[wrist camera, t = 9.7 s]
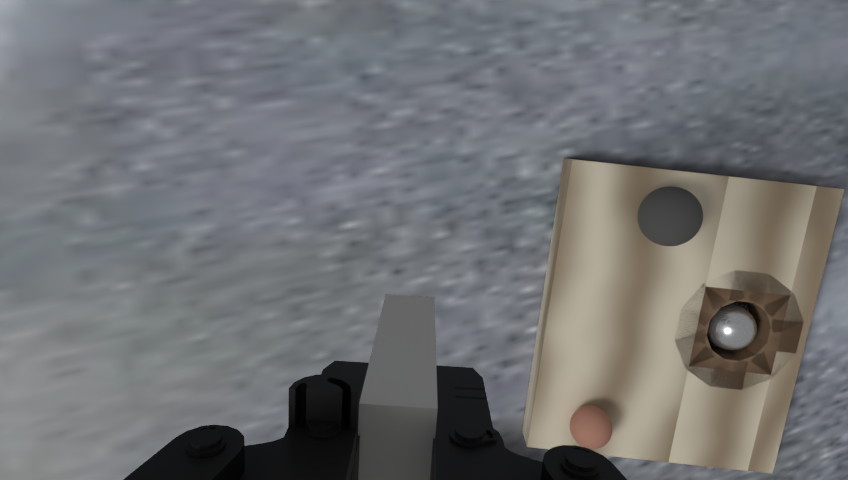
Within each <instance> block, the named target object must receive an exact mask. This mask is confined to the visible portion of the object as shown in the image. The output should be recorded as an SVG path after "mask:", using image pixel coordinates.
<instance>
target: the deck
mask: <svg viewBox="0 0 848 480" xmlns="http://www.w3.org/2000/svg"><path fill="white" fill-rule="evenodd" d="M668 186H673V187H680V188H683V189H685V190H687V191H689V192H691V193H692V194H693V195H694V196H695V197H696V198H697V199H698V201H699V202H700V204H701V206H702V210H703V222H702V225H701V228H700V230H699V231H698V233H697V234H696V235H695V236H694V237H693V238H692V239H691V240H689V241H688V242H686V243H684V244H681V245H678V246H662V245H659V244H656V243H654V242H652V241H650V240H649V239H648V238H647V237H646V236H645V235H644V234H643V233H642V231H641V230H640V227H639V224H638V218H637V215H638V209H639V206H640V204H641V202H642V201H643V199H644V198H645V197H646V196H647V195H648V194H650V193H651V192H652V191H654V190H656V189H659V188H662V187H668ZM843 193H844V189H839V188H831V187H823V186H815V185H806V184H796V183H787V182H778V181H769V180H760V179H751V178H742V177H732V176H723V175H714V174H705V173H696V172H687V171H678V170H669V169H659V168H650V167H641V166H632V165H623V164H614V163H605V162H595V161H586V160H577V159H568V158H564V161H563V167H562V174H561V180H560V187H559V193H558V200H557V206H556V213H555V219H554V226H553V232H552V239H551V245H550V252H549V258H548V265H547V271H546V278H545V284H544V291H543V297H542V303H541V310H540V316H539V323H538V329H537V336H536V342H535V349H534V355H533V362H532V368H531V375H530V381H529V388H528V394H527V401H526V407H525V414H524V420H523V427H522V432H523V435H524V438H525V441H526V445H527V447H531V448H541V449H551V448H553V447H557V446H561V445H576V446H581V445H579V444H578V443H577V442H576V441H575V440H574V438H573V436H572V434H571V431H570V419H571V417H572V415H573V413H574V412H575V411H576V410H577V409H579V408H581V407H584V406H595V407H597V408H600V409H601V410H603V411H604V412H605V413H606V414H607V415H608V417H609V418H610V420H611V423H612V429H613V430H612V436H611V439H610V440H609V442H608V443H607V444H606V445H605V446H603V447H601V448H598V449H591V450H593V451H595V452H597V453H599V454H601V455H606V456H615V457H624V458H634V459H643V460H652V461H661V462H671V463H680V464H689V465H699V466H708V467H717V468H726V469H736V470H745V471H754V472H764V473H773V470H774V466H775V462H776V458H777V454H778V450H779V446H780V442H781V438H782V434H783V430H784V426H785V422H786V418H787V414H788V410H789V406H790V403H791V399H792V395H793V391H794V387H795V383H796V379H797V375H798V371H799V367H800V363H801V359H802V355H803V351H804V347H805V343H806V339H807V335H808V331H809V327H810V323H811V320H812V316H813V312H814V308H815V304H816V300H817V296H818V292H819V288H820V284H821V280H822V276H823V272H824V268H825V264H826V260H827V256H828V252H829V248H830V244H831V240H832V236H833V233H834V229H835V225H836V221H837V217H838V213H839V209H840V205H841V201H842V197H843ZM736 301H741V302H747V304H748V307H749V310H750V313H751V315H752V316H753V318H754V319H755V322H756V326H757V332H756V336H755V338H754V340H753V341H752V342H751V343H750V344H749V345H748V346H746V347H744V348H742V349H739V350H727V349H723V348H717V347H711V346H710V344H709V341H708V338H707V332H708V327H709V322H710V320H711V318H712V317H713V316H714V315H715V314H716V313H717V312H718V310H719V309H720V308H721V307H724V306H726V305H729V304H731V303H734V302H736ZM581 447H583V446H581Z"/></svg>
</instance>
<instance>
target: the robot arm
mask: <svg viewBox="0 0 848 480" xmlns="http://www.w3.org/2000/svg"><path fill="white" fill-rule="evenodd" d="M124 480H627V479H626V478H625V477H624V476H623V475H622V474H621V473H620V471H619V470H618V469H617V468H616V467H615V466H614V465H613V464H612V463H611V462H610V461H609V460H608V459H606V458H605V457H604V456H603V455H601V454H599V453H597V452H595V451H593V450H591V449H588V448H585V447H581V446H576V445H561V446H557V447H553V448H551V449H550V450H548V451H547V452H546V453H545V455H544V459H543V462H540V461H536V460H532V459H529V458H526V457H523V456H520V455H517V454H515V453H513V452H511V451H509V450H508V449H506V448H505V447H504V443H503V439H502V438H501V436H500V434H499V432H497V431H496V430H495V429H494V428H493V426H492V421H491V416H490V412H489V407H488V402H487V397H486V392H485V387H484V382H483V378H482V377H481V376H480V375H479V374H478V373H477V372H476V371H475V370H474V369H473V368H465V367H449V366H436V335H435V300H434V297H423V296H408V295H392V294H386V296H385V300H384V304H383V308H382V312H381V316H380V320H379V324H378V328H377V332H376V336H375V340H374V345H373V349H372V353H371V357H370V361H369V363H362V362H346V361H334V362H333V363H332V364H330V365H329V366H327V367H326V368H325V369H323V371H322V374H321V375H314V376H309V377H304V378H302V379H300V380H298V381H296V382H294V383H293V385H292V386H291V387H290V388H289V427H288V429H287V432H286V434H285V436H284V438H281V439H279V440H276V441H273V442H268V443H263V444H256V445H248V446H244V436H243V435H242V434H241V433H240V432H239V431H238V430H237V429H234V428H231V427H229V426H220V425H209V426H201V427H198V428H195V429H192V430H189V431H186V432H185V433H183V434H181V435H179V436H178V437H176V438H175V439H173V440H172V441H171V442H170V443H168V444H167V445H166V446H165V447H163V448H162V449H161V450H160V451H158V452H157V453H156V454H155V455H153V456H152V457H151V458H150V459H148V460H147V461H146V462H145V463H144V464H142V465H141V466H140V467H139V468H137V469H136V470H135V471H134V472H132V473H131V474H130V475H129V476H127V477H126V478H125V479H124Z"/></svg>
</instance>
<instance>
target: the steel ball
mask: <svg viewBox="0 0 848 480" xmlns="http://www.w3.org/2000/svg"><path fill="white" fill-rule="evenodd" d="M756 332H757V326H756V322H755V319H754V318H753V316H752V315H751V313H749V312H748V311H747V310H746V309H744V308H743V307H741V306H738V305H734V304H729V305H726V306H724V307H721V308H720V309H719V310H718V312H717V313H716V314H715V315H714V316H713V317H712V318H711V320H710V322H709V327H708V332H707V336H708V338H709V339H710V340H711V341H712V342H713V343H714V344H715V345H717V346H718V347H720V348H723V349H727V350H739V349H742V348H744V347H746V346H748V345H749V344H750V343H751V342H752V341H753V340H754V338H755V336H756Z"/></svg>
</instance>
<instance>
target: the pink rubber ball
mask: <svg viewBox="0 0 848 480" xmlns="http://www.w3.org/2000/svg"><path fill="white" fill-rule="evenodd" d="M612 430H613V429H612V423H611V420H610V418H609V417H608V415H607V414H606V413H605V412H604V411H603V410H601V409H600V408H597V407H595V406H584V407H581V408H579V409H577V410H576V411H575V412H574V413H573V415H572V417H571V419H570V431H571V434H572V436H573V438H574V440H575V441H576V442H577V443H578V444H579V445H581V446H583V447H585V448H588V449H598V448H601V447H603V446H605V445H606V444H607V443H608V442H609V440H610V439H611V436H612Z"/></svg>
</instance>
